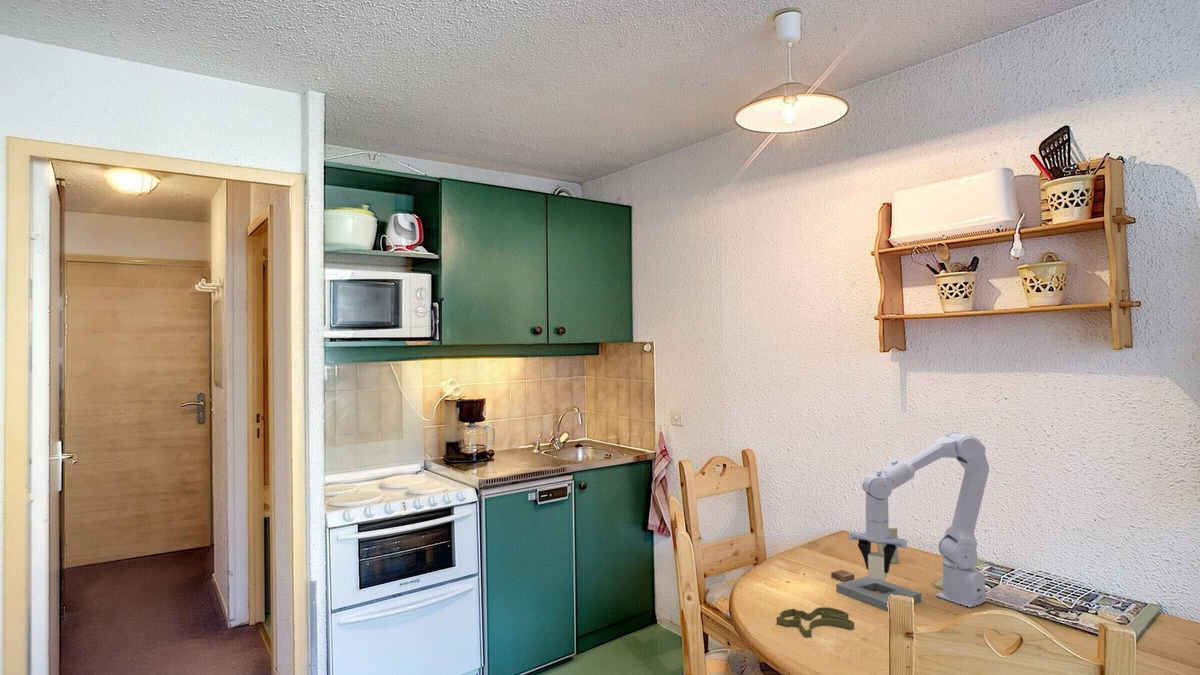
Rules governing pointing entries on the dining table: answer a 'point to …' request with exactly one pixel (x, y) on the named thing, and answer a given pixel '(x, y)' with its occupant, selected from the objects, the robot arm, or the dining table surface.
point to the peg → (876, 565)
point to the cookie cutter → (827, 619)
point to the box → (881, 547)
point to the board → (866, 585)
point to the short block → (842, 575)
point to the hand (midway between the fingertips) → (877, 570)
